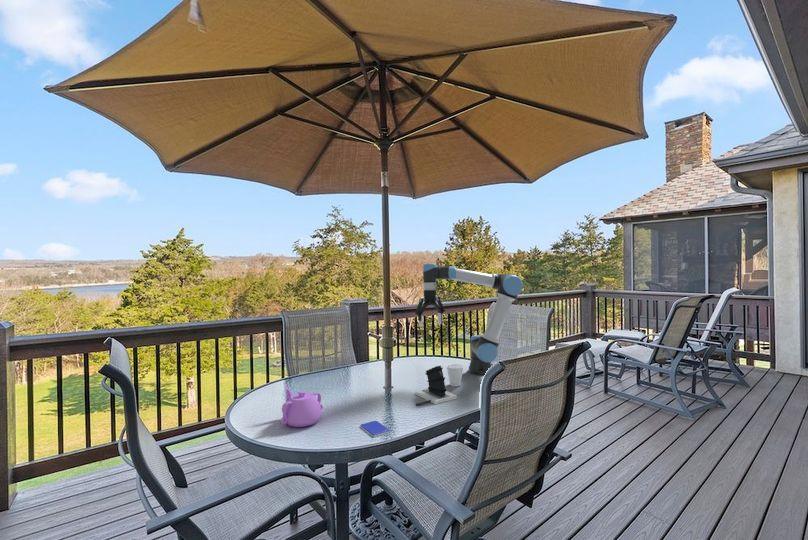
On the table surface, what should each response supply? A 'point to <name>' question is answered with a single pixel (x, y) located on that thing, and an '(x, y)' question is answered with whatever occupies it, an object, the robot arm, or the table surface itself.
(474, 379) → the table surface
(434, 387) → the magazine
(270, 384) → the table surface
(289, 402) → the teapot
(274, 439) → the table surface
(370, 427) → the hard drive
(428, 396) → the charging pad
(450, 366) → the cup
